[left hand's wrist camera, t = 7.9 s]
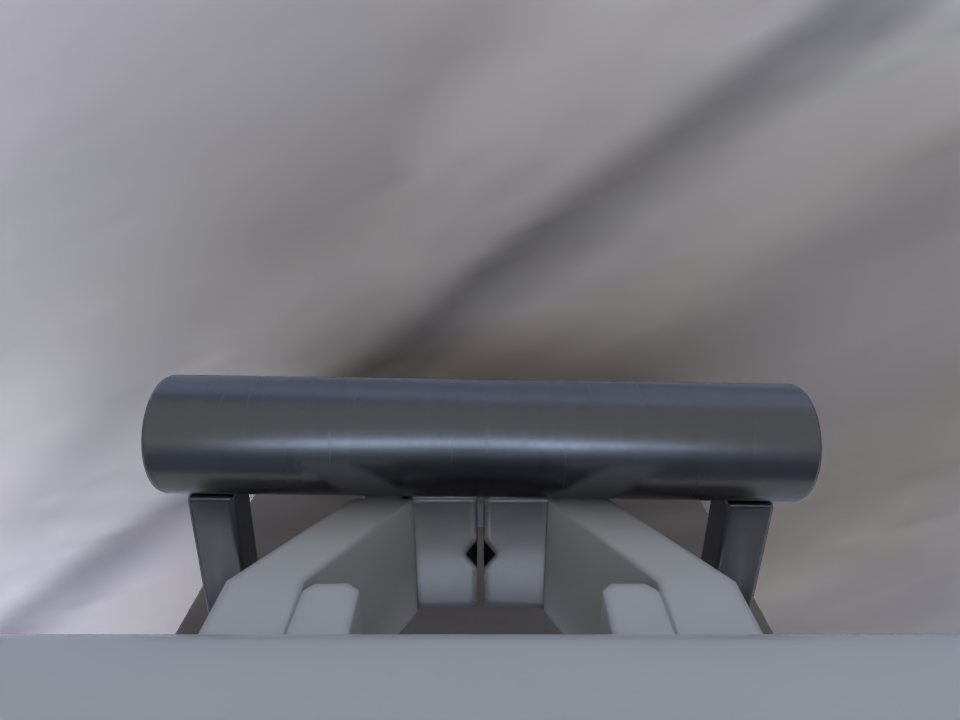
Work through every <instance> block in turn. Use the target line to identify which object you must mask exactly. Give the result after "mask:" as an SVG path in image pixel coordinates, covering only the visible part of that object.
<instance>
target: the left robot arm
mask: <svg viewBox="0 0 960 720" xmlns="http://www.w3.org/2000/svg"><path fill="white" fill-rule="evenodd" d="M477 522H478V515H477V497H426V496H363V499H352V500H351V501H349V502H348V503H346V504H345V505H343V506H342V507H340V508H339V509H337V510H335V511H334V512H332V513H331V514H329V515H328V516H326V517H325V518H323V519H322V520H320V521H318V522H317V523H315V524H314V525H312V526H311V527H309V528H308V529H306V530H305V531H303V532H301V533H300V534H298V535H297V536H295V537H294V538H292V539H291V540H289V541H288V542H286V543H285V544H283V545H281V546H280V547H278V548H277V549H275V550H274V551H272V552H271V553H269V554H268V555H266V556H264V557H263V558H261V559H260V560H258V561H257V562H255V563H254V564H252V565H251V566H249V567H247V568H246V569H244V570H243V571H241V572H240V573H238V574H237V575H235V576H234V577H232V578H230V579H229V580H227V581H226V583H225V585H224V587H223V589H222V591H221V593H220V594H219V596H218V598H217V600H216V602H215V604H214V606H213V607H212V609H211V611H210V613H209V615H208V617H207V619H206V621H205V622H204V624H203V626H202V628H201V630H200V632H199V634H0V720H960V634H763V633H762V631H761V629H760V627H759V625H758V623H757V621H756V619H755V618H754V616H753V614H752V612H751V610H750V608H749V606H748V604H747V603H746V601H745V599H744V597H743V595H742V593H741V591H740V589H739V587H738V586H737V584H736V582H735V581H733V580H732V579H730V578H729V577H727V576H726V575H724V574H723V573H721V572H720V571H718V570H716V569H715V568H713V567H712V566H710V565H709V564H707V563H706V562H704V561H703V560H701V559H700V558H698V557H696V556H695V555H693V554H692V553H690V552H689V551H687V550H686V549H684V548H683V547H681V546H680V545H678V544H676V543H675V542H673V541H672V540H670V539H669V538H667V537H666V536H664V535H663V534H661V533H659V532H658V531H656V530H655V529H653V528H652V527H650V526H649V525H647V524H646V523H644V522H643V521H641V520H639V519H638V518H636V517H635V516H633V515H632V514H630V513H629V512H627V511H626V510H624V509H622V508H621V507H619V506H618V505H616V504H615V503H613V502H612V501H610V500H609V499H574V498H500V497H483V533H484V607H512V608H543V611H544V612H545V614H546V615H547V616H548V617H549V618H550V620H551V621H552V622H553V623H554V624H555V626H556V627H557V628H558V629H559V630H560V632H561V633H562V634H399V633H400V632H401V631H402V630H403V629H404V627H405V626H406V625H407V624H408V623H409V621H410V620H411V619H412V618H413V617H414V615H415V614H416V613H417V612H418V608H448V607H477Z"/></svg>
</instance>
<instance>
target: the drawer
mask: <svg viewBox="0 0 960 720" xmlns="http://www.w3.org/2000/svg"><path fill="white" fill-rule="evenodd" d="M141 446H142V458H143V464H144V468H145V471H146V474H147V476H148V478H149V480H150V482H151V483H152V485H153V486H154V487H155V488H156V489H158V490H159V491H162V492H164V493H190V494H189V497H188V504H189V509H190V515H191V520H192V526H193V531H194V537H195V542H196V548H197V553H198V559H199V564H200V570H201V576H202V581H203V587H202V588H201V590H200V592H199V594H198V595H197V597H196V599H195V601H194V602H193V604H192V606H191V608H190V609H189V611H188V613H187V615H186V616H185V618H184V620H183V622H182V623H181V625H180V627H179V629H178V630H177V632H176V634H199V632H200V630H201V628H202V626H203V624H204V622H205V621H206V619H207V617H208V615H209V613H210V611H211V609H212V607H213V606H214V604H215V602H216V600H217V598H218V596H219V594H220V593H221V591H222V589H223V587H224V585H225V583H226V581H227V580H229V579H230V578H232V577H234V576H235V575H237V574H238V573H240V572H241V571H243V570H244V569H246V568H247V567H249V566H251V565H252V564H254V563H255V562H257V561H258V560H260V559H261V558H263V557H264V556H266V555H268V554H269V553H271V552H272V551H274V550H275V549H277V548H278V547H280V546H281V545H283V544H285V543H286V542H288V541H289V540H291V539H292V538H294V537H295V536H297V535H298V534H300V533H301V532H303V531H305V530H306V529H308V528H309V527H311V526H312V525H314V524H315V523H317V522H318V521H320V520H322V519H323V518H325V517H326V516H328V515H329V514H331V513H332V512H334V511H335V510H337V509H339V508H340V507H342V506H343V505H345V504H346V503H348V502H349V501H351V500H352V499H363V496H426V497H477V515H478V522H477V607H448V608H418V612H417V613H416V614H415V615H414V617H413V618H412V619H411V620H410V621H409V623H408V624H407V625H406V626H405V627H404V629H403V630H402V631H401V632H400V633H399V634H562V633H561V632H560V630H559V629H558V628H557V627H556V626H555V624H554V623H553V622H552V621H551V620H550V618H549V617H548V616H547V615H546V614H545V612H544V611H543V608H512V607H484V533H483V497H500V498H574V499H609V500H610V501H612V502H613V503H615V504H616V505H618V506H619V507H621V508H622V509H624V510H626V511H627V512H629V513H630V514H632V515H633V516H635V517H636V518H638V519H639V520H641V521H643V522H644V523H646V524H647V525H649V526H650V527H652V528H653V529H655V530H656V531H658V532H659V533H661V534H663V535H664V536H666V537H667V538H669V539H670V540H672V541H673V542H675V543H676V544H678V545H680V546H681V547H683V548H684V549H686V550H687V551H689V552H690V553H692V554H693V555H695V556H696V557H698V558H700V559H701V560H703V561H704V562H706V563H707V564H709V565H710V566H712V567H713V568H715V569H716V570H718V571H720V572H721V573H723V574H724V575H726V576H727V577H729V578H730V579H732V580H733V581H735V582H736V584H737V586H738V587H739V589H740V591H741V593H742V595H743V597H744V599H745V601H746V603H747V604H748V606H749V608H750V610H751V612H752V614H753V616H754V618H755V619H756V621H757V623H758V625H759V627H760V629H761V631H762V633H763V634H773V632H772V630H771V629H770V627H769V625H768V623H767V621H766V620H765V618H764V616H763V614H762V612H761V610H760V609H759V607H758V605H757V603H756V601H755V600H754V598H753V596H754V592H755V587H756V583H757V578H758V574H759V569H760V565H761V560H762V556H763V551H764V547H765V542H766V537H767V533H768V528H769V524H770V519H771V515H772V510H773V504H772V502H771V501H799V500H801V499H803V498H805V497H806V496H807V495H808V494H809V493H810V492H811V490H812V489H813V487H814V485H815V483H816V480H817V477H818V474H819V470H820V464H821V454H822V442H821V432H820V426H819V421H818V417H817V414H816V411H815V409H814V406H813V404H812V402H811V400H810V399H809V397H808V396H807V394H806V393H805V392H804V391H803V390H802V389H800V388H799V387H797V386H794V385H792V384H765V383H697V382H629V381H561V380H493V379H424V378H356V377H288V376H220V375H172V376H169V377H167V378H165V379H164V380H162V381H161V382H160V383H159V384H158V385H157V387H156V388H155V389H154V391H153V393H152V395H151V397H150V399H149V402H148V405H147V407H146V411H145V415H144V420H143V426H142V438H141ZM249 494H255V496H254V497H253V499H252V501H251V503H250V499H249ZM700 500H711V504H710V510H709V516H708V514H707V512H706V511H705V509H704V507H703V505H702V503H701V501H700Z"/></svg>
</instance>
